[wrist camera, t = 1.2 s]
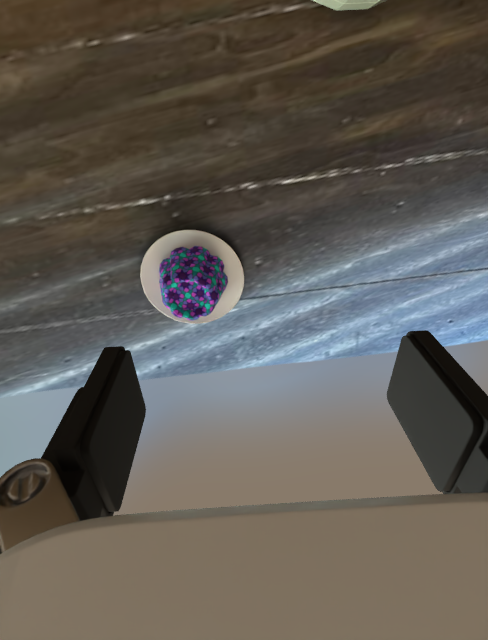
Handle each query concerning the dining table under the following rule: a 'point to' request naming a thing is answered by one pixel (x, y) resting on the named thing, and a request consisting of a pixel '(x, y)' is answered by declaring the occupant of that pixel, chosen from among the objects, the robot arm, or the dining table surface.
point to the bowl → (349, 4)
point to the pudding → (192, 276)
